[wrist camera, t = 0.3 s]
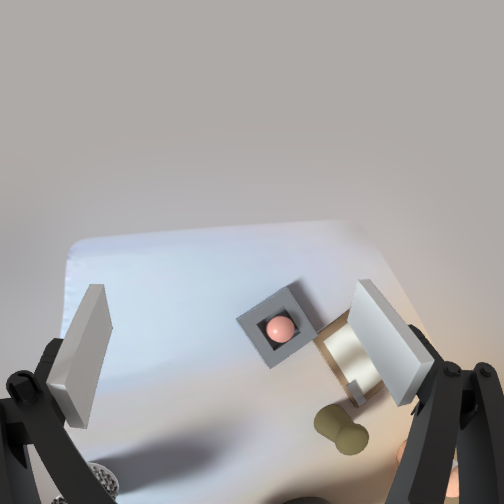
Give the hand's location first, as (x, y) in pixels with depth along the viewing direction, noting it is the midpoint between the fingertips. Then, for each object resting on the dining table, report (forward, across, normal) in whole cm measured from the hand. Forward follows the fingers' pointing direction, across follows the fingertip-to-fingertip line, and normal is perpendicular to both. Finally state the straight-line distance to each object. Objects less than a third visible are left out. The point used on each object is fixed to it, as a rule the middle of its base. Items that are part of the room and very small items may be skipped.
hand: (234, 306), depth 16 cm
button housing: (+26, -10, +23) cm, 36 cm away
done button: (+24, -10, +22) cm, 34 cm away
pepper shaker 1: (+16, -19, +38) cm, 45 cm away
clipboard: (+23, -25, +28) cm, 44 cm away
